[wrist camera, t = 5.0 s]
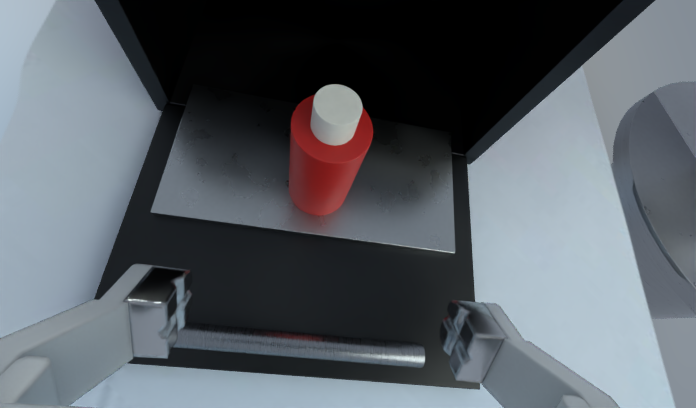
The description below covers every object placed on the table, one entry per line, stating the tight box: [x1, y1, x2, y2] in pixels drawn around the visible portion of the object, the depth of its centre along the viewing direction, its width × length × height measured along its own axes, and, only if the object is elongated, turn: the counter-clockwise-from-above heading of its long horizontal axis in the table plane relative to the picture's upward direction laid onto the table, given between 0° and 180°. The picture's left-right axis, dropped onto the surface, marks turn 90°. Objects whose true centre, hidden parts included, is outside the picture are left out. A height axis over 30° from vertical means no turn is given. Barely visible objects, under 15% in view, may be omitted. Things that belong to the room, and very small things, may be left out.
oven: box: [94, 0, 655, 389], centre depth 22 cm, size 42×30×20 cm
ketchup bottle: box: [289, 84, 373, 215], centre depth 22 cm, size 5×5×11 cm
